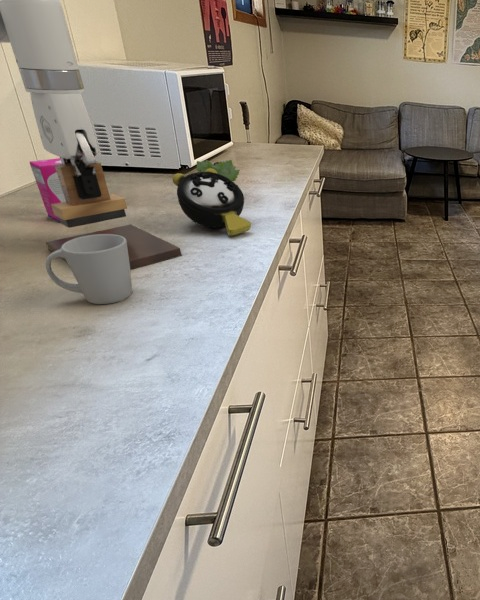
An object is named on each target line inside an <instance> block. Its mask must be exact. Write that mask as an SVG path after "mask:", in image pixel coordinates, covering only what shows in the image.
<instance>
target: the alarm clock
mask: <svg viewBox="0 0 480 600" xmlns="http://www.w3.org/2000/svg"><path fill="white" fill-rule="evenodd" d="M172 183H173V184H174V185H175V186H177V187H176V196H177V201H178V205H179V207H180V209H181V211H182V212H183V214H184V215H185V216H186V217H187V218H188V219H189V220H190V221H192V222H194V223H195V224H197V225H200V226H203V227H206V228H213V229H214V228H215V229H216V228H223V227H225V229H226V232H227V235H228V236H236V235H239V234H242V233H243V234H244V233H246V232H248V231H250V229H251V227H252V222H251V221H249V220H247V219H245V218H243V217H242V216H240V215H241V214H242V212H243V209H244V206H245V196H244V193H243V190H241V188H240V186H239V185H238V184H236V183H235V181H233V182H232V181H231V180H230V179H228V178H227V177H225V176H222V175H220V174H217V172H216V170H214V169H212V168H209V169H206V171H205V172H193V173H190V174H187V175H184V174H183V173H179V172H178V173H175V174H174V175H172ZM237 185H238V186H237Z"/></svg>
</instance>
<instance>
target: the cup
mask: <svg viewBox="0 0 480 600" xmlns="http://www.w3.org/2000/svg"><path fill="white" fill-rule="evenodd" d="M61 257H63V258H66V260H67V261H66V263H67V265H68V267H69V269H70V271H71V273H72V275H73V278H74V279H75V281H76V282H77V283H71V282H67V281H64V280H62V279H60V277H58V276H57V275H56V274H55V272H54V271H53V269H52V261H53V260H54V259H55V258H56V259H57V258H61ZM45 269H46V273H47V275H48V276H49V278H50V280H51V281H53V283H55V284H56V285H57V286H59V287H60V288H62V289H65V290H66V291H69V292H73V293H77V294H82V295H84V297H85V300H86V301H87V302H89V303H91V304H94V305H109V304H115V303H119V302H121V301H124V300H125V299H128V297H130V296H131V295H132V294H133V287H132V275H131V273H132V272H131V269H130V263H129V256H128V249H127V241H126V239H125V238H124V237H123V236H120V235H114V234H97V235H89V236H83V237H79V238H75V239H72V240H70V241H68V242H66V243H64V244H63V245H62V247H61V249H59V250H57V251H55V252H51V253H49V255H48V256H47V257H46V259H45Z"/></svg>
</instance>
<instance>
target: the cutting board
mask: <svg viewBox="0 0 480 600" xmlns="http://www.w3.org/2000/svg"><path fill="white" fill-rule="evenodd" d="M97 234H114V235H120V236H123V237H124V238H125V239H126V241H127V249H128V256H129V263H130V270H134V269H137V268H142V267H146V266H148V265H152V264H155V263H159V262H163V261H167V260H170V259H171V260H172V259H174V258H177V257H181V256H182V252H181V251H182V250H181V248H180V247H179V246H177V245H175V244H173V243H171V242H168V241H166V240H164V239H162V238H161V237H158V236H156V235H154V234H152V233H149V232H148V231H146V230H144V229H142V228H139V227H137V226H136V225H133V224H127V225H121V226H116V227H111V228H106V229H102V230H97V231H92V232H88V233H83V234H78V235H73V236H68V237H64V238H59V239H53V240H49V241H46V242H45V244H46V247H47V249H48V251H50V252H51V253H53V252H55V251H57V250H59V249H61V247H62V245H63V244H64V243H66V242H68V241H70V240H72V239H75V238H79V237H83V236H89V235H97ZM60 259H62V260H63V261H65V262H67V260H66V258H63V257H60Z"/></svg>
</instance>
